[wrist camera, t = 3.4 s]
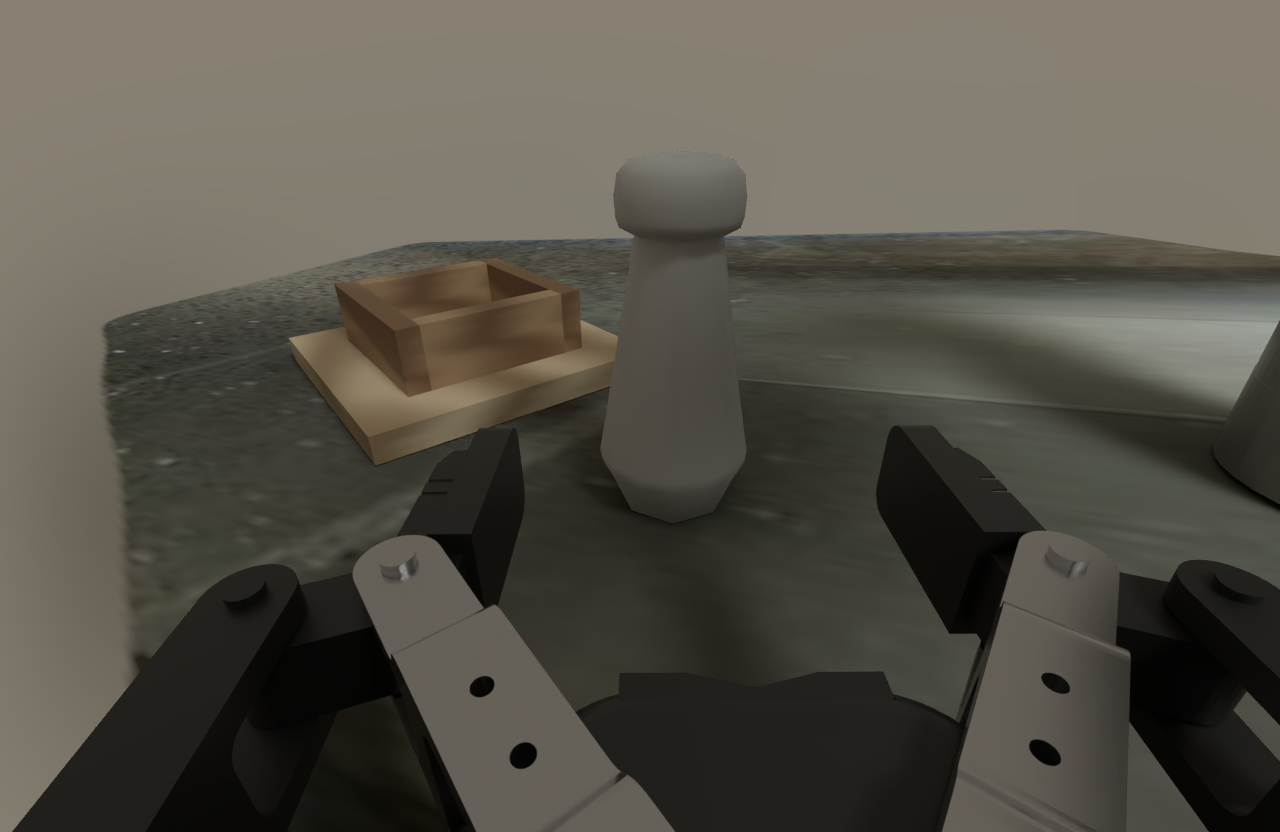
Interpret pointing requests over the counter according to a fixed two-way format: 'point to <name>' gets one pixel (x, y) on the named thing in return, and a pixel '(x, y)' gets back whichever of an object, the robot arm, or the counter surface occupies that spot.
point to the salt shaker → (676, 337)
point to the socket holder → (452, 354)
